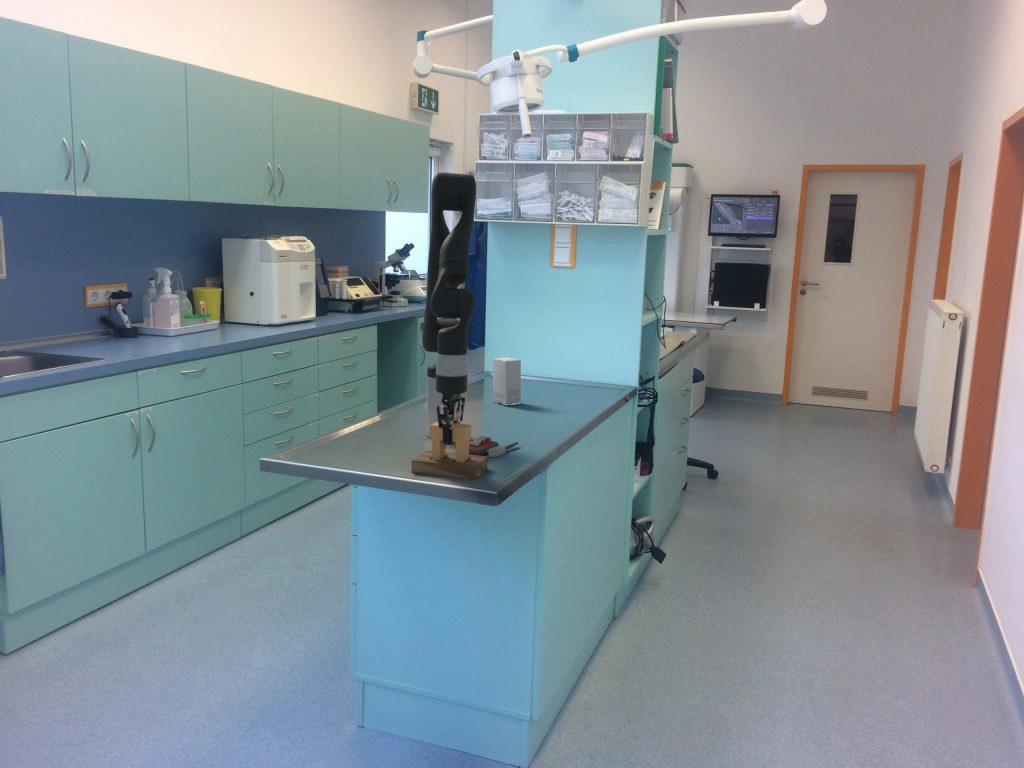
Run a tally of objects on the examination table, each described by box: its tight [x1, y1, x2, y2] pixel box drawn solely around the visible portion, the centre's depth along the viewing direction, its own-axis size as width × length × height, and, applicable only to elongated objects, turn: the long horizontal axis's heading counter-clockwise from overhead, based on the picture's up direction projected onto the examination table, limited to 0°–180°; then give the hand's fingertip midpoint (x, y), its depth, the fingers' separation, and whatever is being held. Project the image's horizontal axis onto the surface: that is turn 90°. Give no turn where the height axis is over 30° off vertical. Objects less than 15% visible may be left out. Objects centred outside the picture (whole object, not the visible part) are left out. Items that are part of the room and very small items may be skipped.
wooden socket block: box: [411, 450, 489, 480], centre depth 197 cm, size 10×16×3 cm, turn 74°
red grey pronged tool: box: [469, 435, 519, 458], centre depth 214 cm, size 9×4×20 cm
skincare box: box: [492, 356, 522, 404], centre depth 277 cm, size 8×7×16 cm
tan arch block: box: [429, 422, 472, 463], centre depth 196 cm, size 4×9×8 cm, turn 74°
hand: (450, 442), depth 196 cm, fingers closed on tan arch block, 4 cm apart
